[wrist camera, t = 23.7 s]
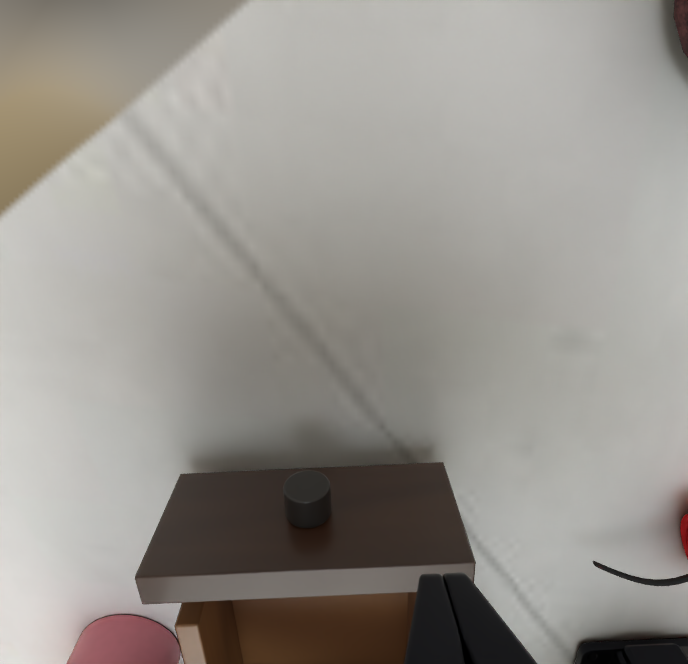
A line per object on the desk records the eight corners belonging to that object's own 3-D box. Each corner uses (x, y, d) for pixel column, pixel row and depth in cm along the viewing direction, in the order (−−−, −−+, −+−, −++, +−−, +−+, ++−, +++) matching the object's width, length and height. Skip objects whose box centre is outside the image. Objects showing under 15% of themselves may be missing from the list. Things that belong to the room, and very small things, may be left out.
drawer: (174, 448, 19) (124, 548, 14) (444, 436, 19) (478, 532, 14) (220, 663, 24) (194, 786, 19) (434, 653, 24) (457, 775, 19)
